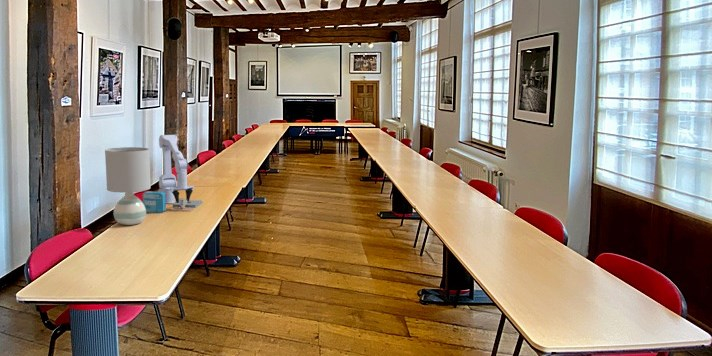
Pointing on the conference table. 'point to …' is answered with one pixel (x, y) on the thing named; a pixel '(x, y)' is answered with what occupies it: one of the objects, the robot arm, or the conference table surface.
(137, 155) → the lamp
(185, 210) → the tile
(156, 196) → the blue box
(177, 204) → the cover plate
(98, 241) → the conference table surface
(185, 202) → the t key
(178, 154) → the robot arm
